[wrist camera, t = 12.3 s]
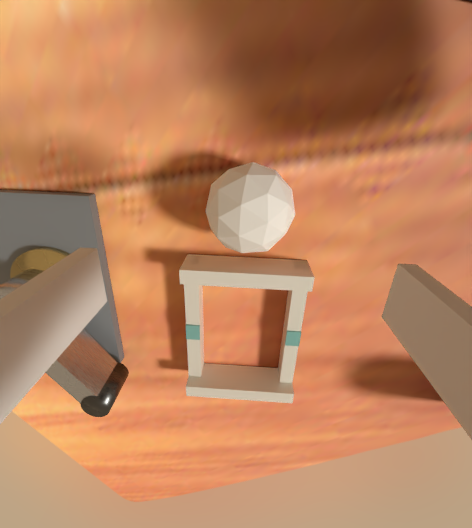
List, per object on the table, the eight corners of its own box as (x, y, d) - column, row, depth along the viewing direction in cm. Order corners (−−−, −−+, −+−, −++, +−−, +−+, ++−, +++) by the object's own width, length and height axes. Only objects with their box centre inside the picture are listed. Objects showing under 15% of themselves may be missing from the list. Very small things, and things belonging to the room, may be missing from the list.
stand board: (-37, 187, 29) (-48, 189, 28) (94, 193, 28) (88, 196, 27) (24, 350, 38) (18, 356, 37) (124, 356, 38) (120, 363, 36)
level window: (187, 254, 31) (179, 269, 27) (306, 260, 30) (314, 277, 26) (192, 371, 38) (186, 395, 34) (288, 377, 38) (292, 403, 34)
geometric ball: (232, 203, 31) (175, 215, 25) (274, 143, 25) (213, 140, 20) (274, 256, 29) (222, 281, 23) (328, 203, 24) (278, 220, 18)
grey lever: (54, 232, 29) (-1, 258, 23) (163, 354, 35) (144, 402, 29) (0, 269, 31) (-63, 303, 25) (112, 378, 38) (83, 427, 31)
